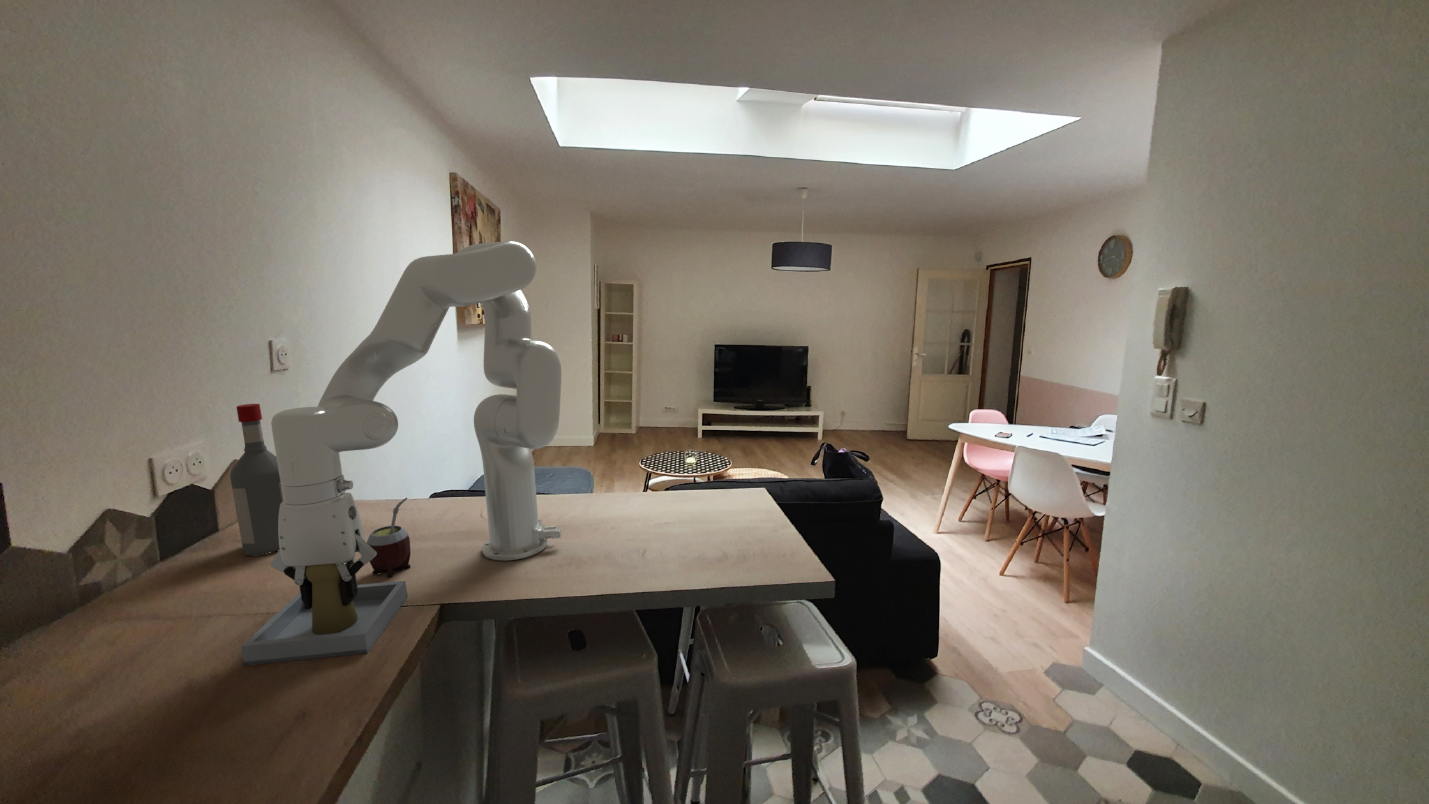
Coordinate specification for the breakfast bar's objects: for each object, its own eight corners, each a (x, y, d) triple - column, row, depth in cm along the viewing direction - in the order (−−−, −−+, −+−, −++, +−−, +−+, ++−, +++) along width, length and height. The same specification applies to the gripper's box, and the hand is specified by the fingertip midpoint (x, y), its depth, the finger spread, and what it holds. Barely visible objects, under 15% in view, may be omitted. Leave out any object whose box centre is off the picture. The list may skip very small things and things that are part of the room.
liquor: (244, 560, 114) (218, 411, 108) (242, 545, 121) (217, 405, 115) (300, 546, 120) (278, 405, 114) (295, 533, 127) (274, 399, 121)
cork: (335, 636, 86) (323, 568, 84) (302, 632, 87) (290, 565, 85) (367, 615, 92) (357, 550, 90) (335, 611, 93) (325, 548, 91)
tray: (407, 597, 99) (405, 580, 98) (367, 653, 83) (364, 634, 83) (305, 606, 96) (302, 589, 96) (244, 665, 81) (240, 646, 80)
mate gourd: (373, 566, 110) (363, 491, 108) (419, 558, 113) (410, 485, 111) (367, 583, 103) (356, 504, 101) (416, 575, 106) (407, 497, 104)
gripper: (385, 478, 91) (398, 585, 94) (266, 486, 88) (285, 596, 91) (364, 494, 83) (380, 610, 87) (234, 503, 81) (255, 622, 84)
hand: (331, 601), depth 89 cm, fingers open, 4 cm apart
